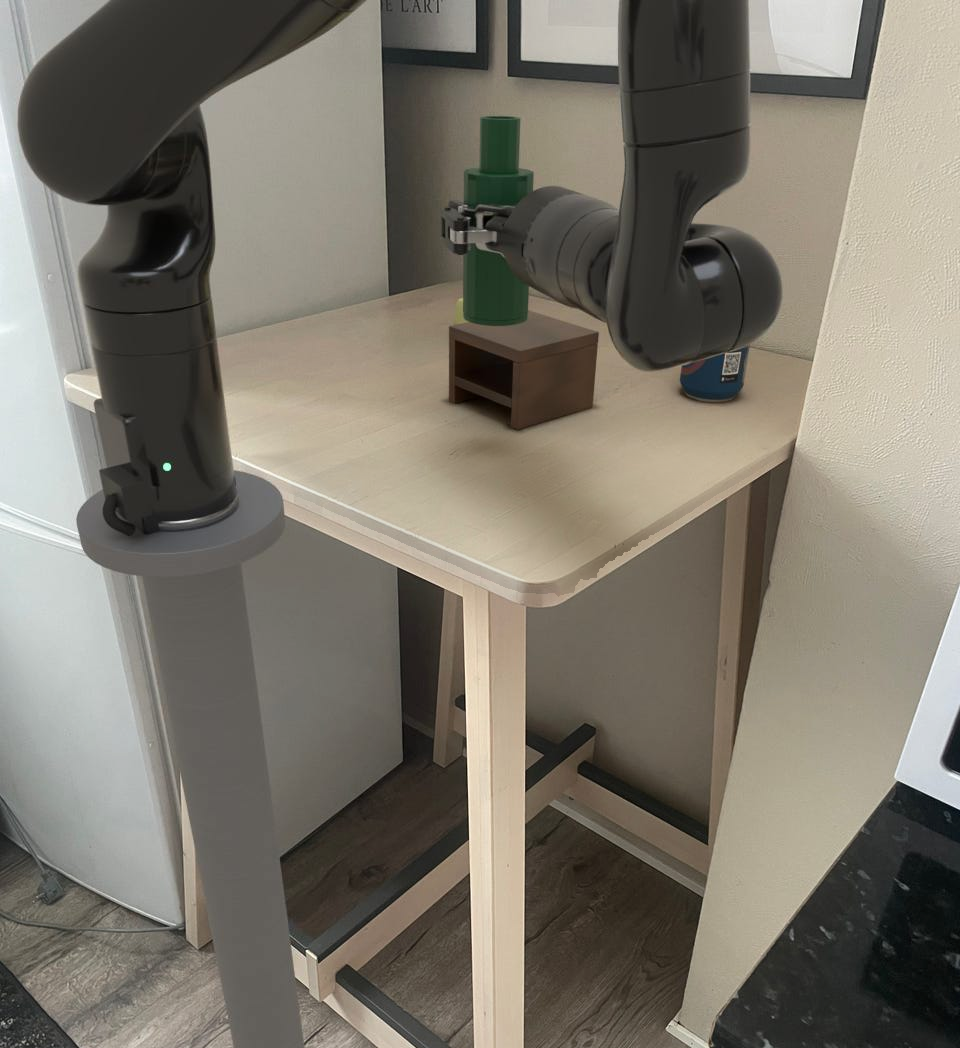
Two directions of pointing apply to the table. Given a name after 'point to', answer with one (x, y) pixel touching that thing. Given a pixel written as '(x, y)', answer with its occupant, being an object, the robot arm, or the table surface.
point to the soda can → (715, 376)
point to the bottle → (498, 181)
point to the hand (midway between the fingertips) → (486, 211)
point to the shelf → (525, 367)
